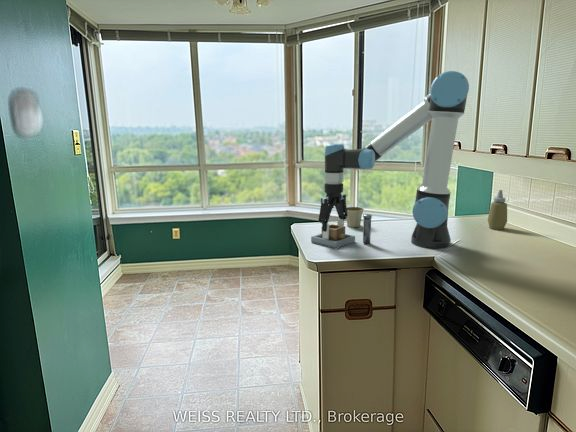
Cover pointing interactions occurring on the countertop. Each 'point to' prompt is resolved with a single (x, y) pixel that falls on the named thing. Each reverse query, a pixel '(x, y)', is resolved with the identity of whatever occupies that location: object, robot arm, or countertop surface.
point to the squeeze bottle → (498, 212)
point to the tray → (321, 241)
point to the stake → (367, 228)
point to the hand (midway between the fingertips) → (333, 236)
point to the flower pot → (354, 216)
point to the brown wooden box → (336, 232)
